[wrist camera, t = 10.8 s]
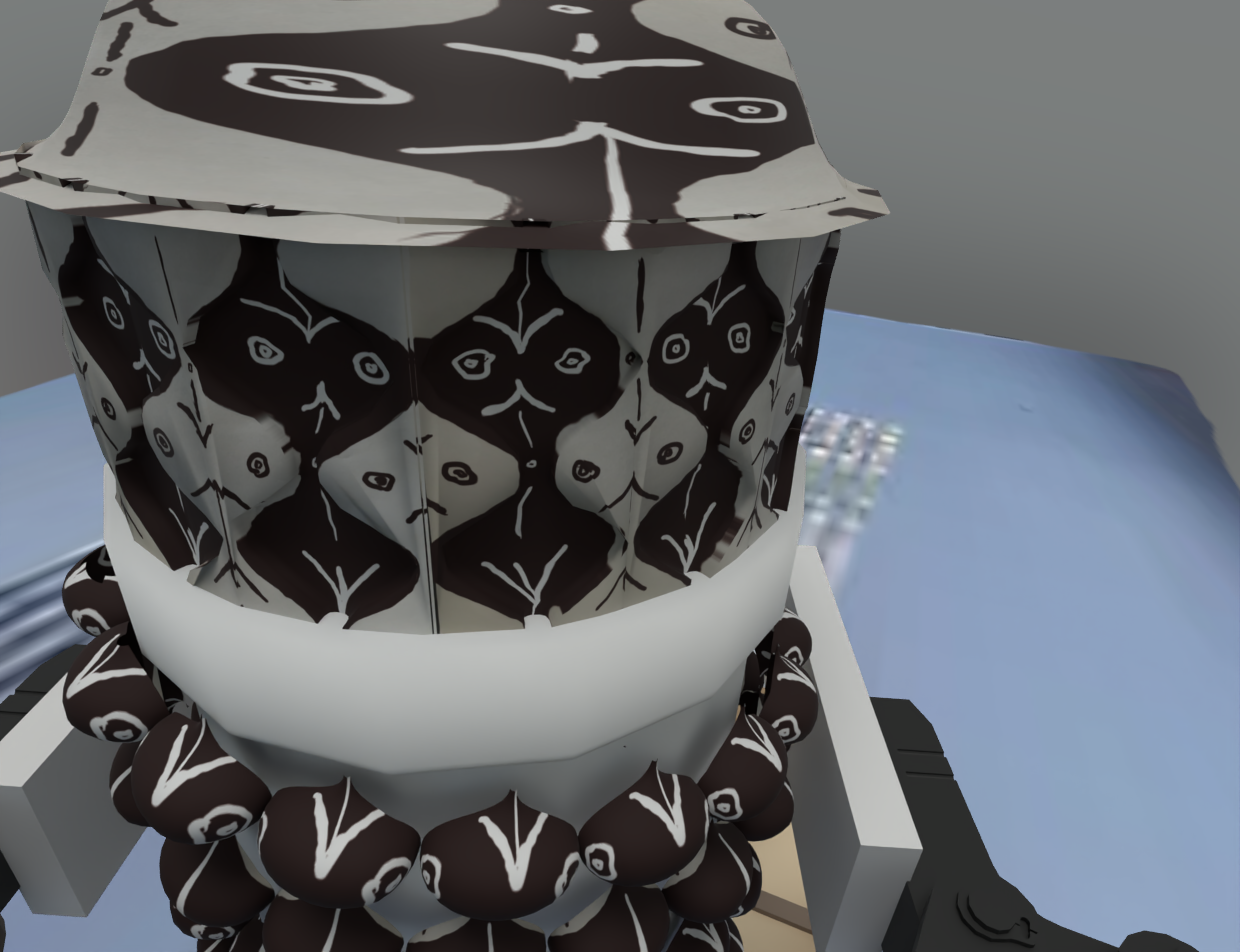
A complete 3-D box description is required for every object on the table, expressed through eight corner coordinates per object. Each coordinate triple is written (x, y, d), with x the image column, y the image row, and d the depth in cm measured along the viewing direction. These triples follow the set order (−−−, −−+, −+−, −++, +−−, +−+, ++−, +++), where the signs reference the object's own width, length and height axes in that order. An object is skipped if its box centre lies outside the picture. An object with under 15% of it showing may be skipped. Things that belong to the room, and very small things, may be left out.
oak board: (133, 736, 29) (114, 686, 28) (326, 585, 38) (319, 542, 37) (846, 1066, 21) (867, 1017, 20) (878, 772, 30) (894, 725, 29)
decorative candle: (312, 1027, 21) (17, -27, 9) (616, 924, 24) (700, 33, 12) (312, 1564, 13) (-1417, -425, 2) (754, 1315, 17) (1335, -3, 5)
